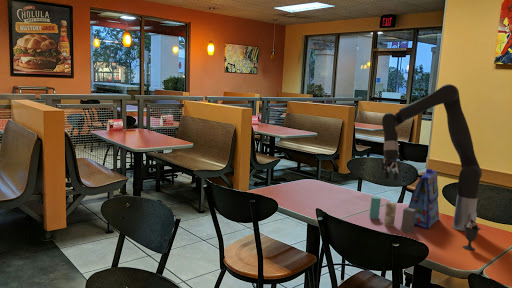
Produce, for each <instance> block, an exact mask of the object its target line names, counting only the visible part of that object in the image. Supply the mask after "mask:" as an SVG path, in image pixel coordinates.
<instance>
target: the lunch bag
mask: <svg viewBox="0 0 512 288" xmlns="http://www.w3.org/2000/svg"><path fill="white" fill-rule="evenodd" d="M425 171H426V172H425V173H424V174H423V175H422V176H421V177H420V178H419V180H418V181H417V183H416V185H415V188H414V191H413V193H412V196H411V199H410V201H409V203H408V208H412V209H416V214H415V221H414V225H416V226H419V227H422V228H423V229H425V230H428V229H430V228H431V227H432V226H433V225H434V224H435V223H436V222H437V221H438V220H439V219H440V212H439V200H438V199H439V185H438V184H439V183H438V175H439V174H438V172H437V171H435V170H433V169H431V168H426V170H425Z"/></svg>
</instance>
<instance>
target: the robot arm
mask: <svg viewBox="0 0 512 288" xmlns="http://www.w3.org/2000/svg"><path fill="white" fill-rule="evenodd" d="M438 105H443V107H444V109H445V113H446V118H447V119H446V121H447V122H446V123H447V128H448V133H449V137H450V141H451V143H452V146H453V147H454V149H455V151H456V153H457V154H458V157H459V161H460V165H461V169H460V171H459V175H458V180H457V181H458V182H457V195H456V201H455V207H454V208H455V209H454V215H453V223H452V228H453V229H454V230H458V231H461V232H465V233H466V229H465V227H464V225H467V223H468V222H469V221H470V220H471V217H472V220H473V221H474V222H476V221H477V216H478V213H477V205H478V198H479V188H480V181H481V179H482V176H483V171H482V169H481V166H480V164H479V162H478V158H477V156H476V153H475V150H474V143H473V139H472V135H471V130H470V127H469V125H468V122H467V119H466V115H465V114H464V112H463V111H464V110H463V109H462V104H461V99H460V91H459V89H458V88H457V86H455V85H453V84H449V83H448V84H443V85H442V86H441V87H439V88H438V89H437V90H434V91H433V92H432V93H430V94H429V95H426V96H424V97H422V98H420V99H418V100H416V101H413V102H410V104H406V105H404V106H402V107H401V108H399V110H398V112H396V113H391V112H387V113H385V114H384V115H383V116H382V120H381V122H382V123H381V125H382V129H383V138H384V139H383V159H382V161H381V171H382V172H384V180H390V171H392V172H393V181H395V182H396V181H397V182H398V181H399V174H401V161H397V160H398V159H399V158H400V157H399V154H400V153H399V139H398V137H399V136H398V131H397V130H396V127H398V126H400V125H402V124H403V123H405V122H406V121H407V120H410V119H412V118H414V117H416V116H418V115H420V114H422V113H424V112H425V111H427V110H429V109H432V108H433V107H436V106H438ZM470 215H471V216H470ZM476 223H477V222H476Z"/></svg>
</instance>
